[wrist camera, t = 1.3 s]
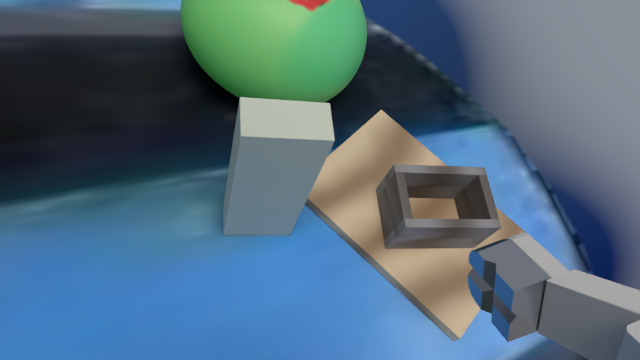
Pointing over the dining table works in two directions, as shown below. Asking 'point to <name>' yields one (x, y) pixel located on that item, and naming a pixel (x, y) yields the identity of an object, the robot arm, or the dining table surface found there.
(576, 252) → the dining table surface
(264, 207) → the tall grey rectangular block
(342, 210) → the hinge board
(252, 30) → the toy bird
